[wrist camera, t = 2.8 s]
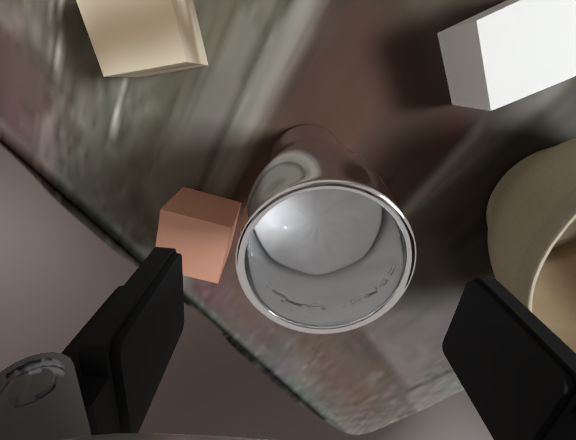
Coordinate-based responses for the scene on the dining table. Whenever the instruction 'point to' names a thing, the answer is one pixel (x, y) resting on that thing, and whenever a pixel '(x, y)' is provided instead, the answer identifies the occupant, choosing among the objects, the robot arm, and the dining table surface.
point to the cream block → (509, 52)
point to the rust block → (199, 231)
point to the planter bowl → (538, 236)
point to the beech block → (143, 36)
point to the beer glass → (322, 237)
